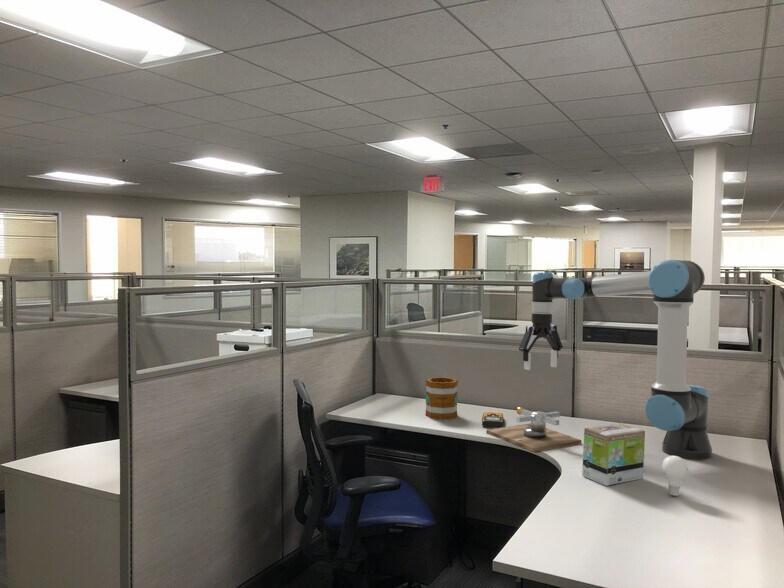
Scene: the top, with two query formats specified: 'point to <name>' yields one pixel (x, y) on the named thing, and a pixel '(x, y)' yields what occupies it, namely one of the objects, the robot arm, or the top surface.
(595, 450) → the tea box
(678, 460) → the lightbulb
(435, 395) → the mug
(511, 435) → the wooden board
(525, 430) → the capstan
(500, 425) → the electronic device
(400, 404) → the top surface
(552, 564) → the top surface
